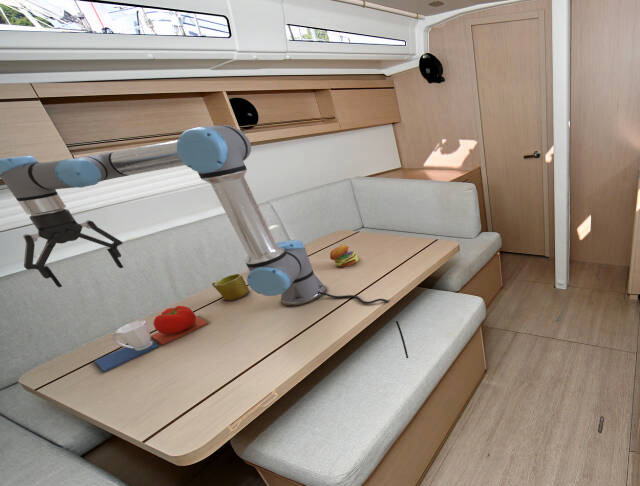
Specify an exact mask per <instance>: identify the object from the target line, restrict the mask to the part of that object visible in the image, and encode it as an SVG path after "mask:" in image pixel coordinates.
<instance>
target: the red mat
mask: <svg viewBox="0 0 640 486" xmlns="http://www.w3.org/2000/svg"><path fill="white" fill-rule="evenodd" d="M195 316H196V320H195V322H194V324H193V325H192V326H191V327H189V328H188V329H184V330H183V331H181V332H179V333H173V334H168V333H167V334H163V333H160V332H156V333H154V334H152V335H151V338H153V339H154V340H155V341H157V342H158V343H159V344H161V345H162V346H163V345H165V344H168V343H170V342H172V341H174V340H177V339H179V338H181V337H183V336H185V335H188V334H189V333H191V332H195V331H196V330H199V329H200V328H202V327H205V326H207V325H209V322H208V321H206V320H204V319H202V318H200V317H198V316H197V315H195Z"/></svg>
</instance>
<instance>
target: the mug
mask: <svg viewBox="0 0 640 486" xmlns="http://www.w3.org/2000/svg"><path fill="white" fill-rule="evenodd" d="M211 285H212V287H213V288H214V289H216V291H217V292H218V293H219V294H220V295H221V297H222V299H224V300H225V301H236V300H239V299H240V298H242V297H244V296H246V295H247V294H248V293H249V292H250V287H249V286H248V284H247V283H246V280H245V279H244V277H243V276H242V274H240V273H235V274H230V275H227V276H225V277H223V278H221V279H219V280H218V279H217V280H215V281H214V282H212V283H211Z"/></svg>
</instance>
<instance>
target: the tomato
mask: <svg viewBox="0 0 640 486" xmlns="http://www.w3.org/2000/svg"><path fill="white" fill-rule="evenodd" d="M196 316H197V315H196V314H195V312H194V311H193V310H192V309H191V308H190V307H188V306H186V305H185V306H184V305H177V306H174V307H170V308H167V309H165V310H163V311H162V312H161V314H158V315H157V316H155V317H154V319H153V326H154V328H155V330H156V331H157V333H159V332H160V333H163V334H167V333H168V334H173V333H179V332H181V331H183V330H184V329H188V328H189V327H191V326H192V325H193V324H194V322H195V320H196Z"/></svg>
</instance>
